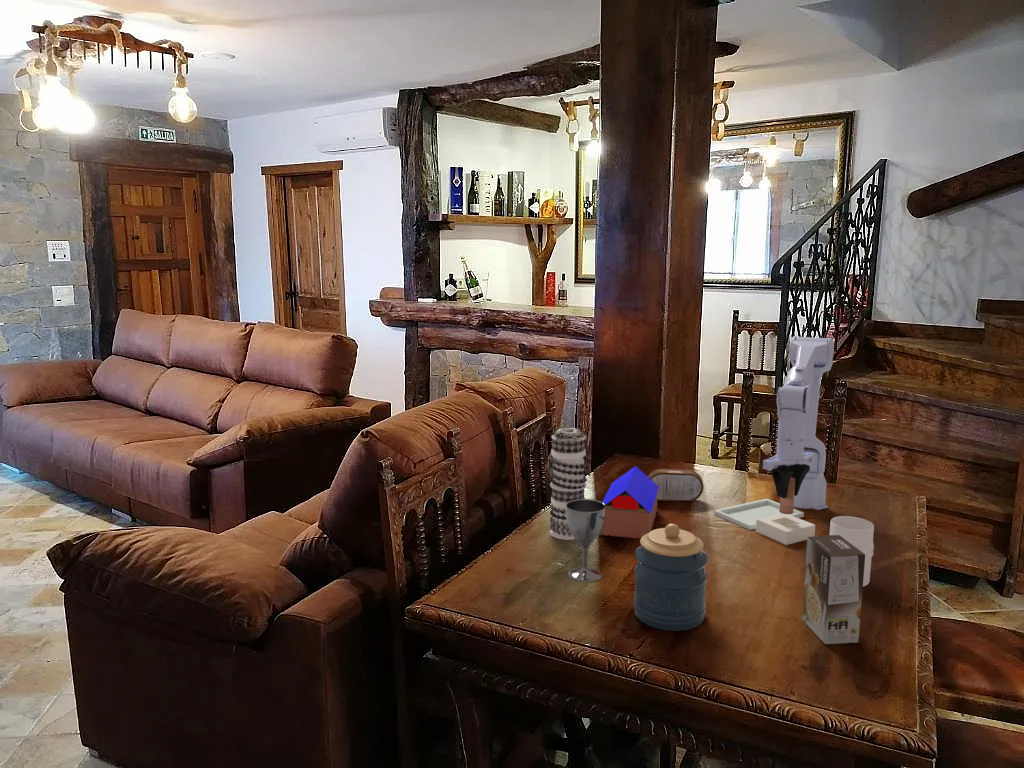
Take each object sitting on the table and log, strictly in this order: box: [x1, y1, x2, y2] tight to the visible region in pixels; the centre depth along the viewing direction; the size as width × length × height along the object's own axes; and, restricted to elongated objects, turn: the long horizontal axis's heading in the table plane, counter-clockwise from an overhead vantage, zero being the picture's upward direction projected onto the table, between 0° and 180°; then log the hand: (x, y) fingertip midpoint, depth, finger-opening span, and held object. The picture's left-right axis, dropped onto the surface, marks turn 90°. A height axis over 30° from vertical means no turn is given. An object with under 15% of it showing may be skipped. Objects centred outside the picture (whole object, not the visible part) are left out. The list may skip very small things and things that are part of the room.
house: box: [599, 465, 659, 539], centre depth 185 cm, size 12×20×12 cm, turn 164°
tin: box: [646, 468, 705, 503], centre depth 201 cm, size 15×3×8 cm, turn 84°
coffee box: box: [802, 534, 865, 645], centre depth 132 cm, size 9×6×16 cm
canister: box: [633, 523, 709, 632], centre depth 138 cm, size 13×13×18 cm
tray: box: [713, 498, 805, 531], centre depth 188 cm, size 18×12×2 cm, turn 118°
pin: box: [779, 477, 795, 514], centre depth 174 cm, size 3×3×8 cm
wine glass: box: [566, 498, 605, 583], centre depth 156 cm, size 8×8×15 cm
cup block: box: [755, 513, 816, 546], centre depth 175 cm, size 9×9×4 cm
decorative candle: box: [548, 427, 589, 541], centre depth 177 cm, size 9×9×25 cm
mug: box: [829, 515, 875, 588], centre depth 155 cm, size 8×12×12 cm
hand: (787, 495), depth 174 cm, fingers closed on pin, 3 cm apart
